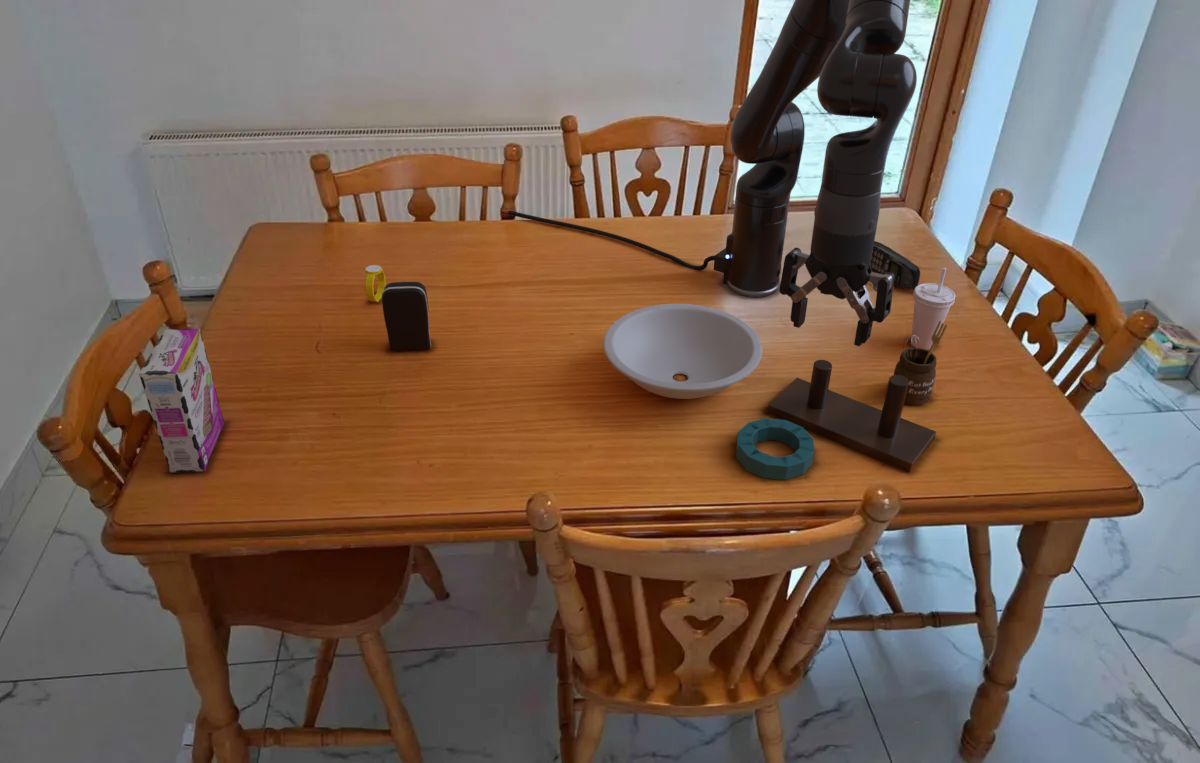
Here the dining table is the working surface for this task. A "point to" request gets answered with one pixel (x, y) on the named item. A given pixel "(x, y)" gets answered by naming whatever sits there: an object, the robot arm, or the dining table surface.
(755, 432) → the teal faceted ring
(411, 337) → the battery charger
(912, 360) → the utensil holder
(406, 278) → the dining table surface
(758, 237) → the robot arm
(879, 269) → the mobile phone
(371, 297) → the watch
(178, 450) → the candy bar box
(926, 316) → the smoothie
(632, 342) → the vessel sink basin
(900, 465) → the rack
